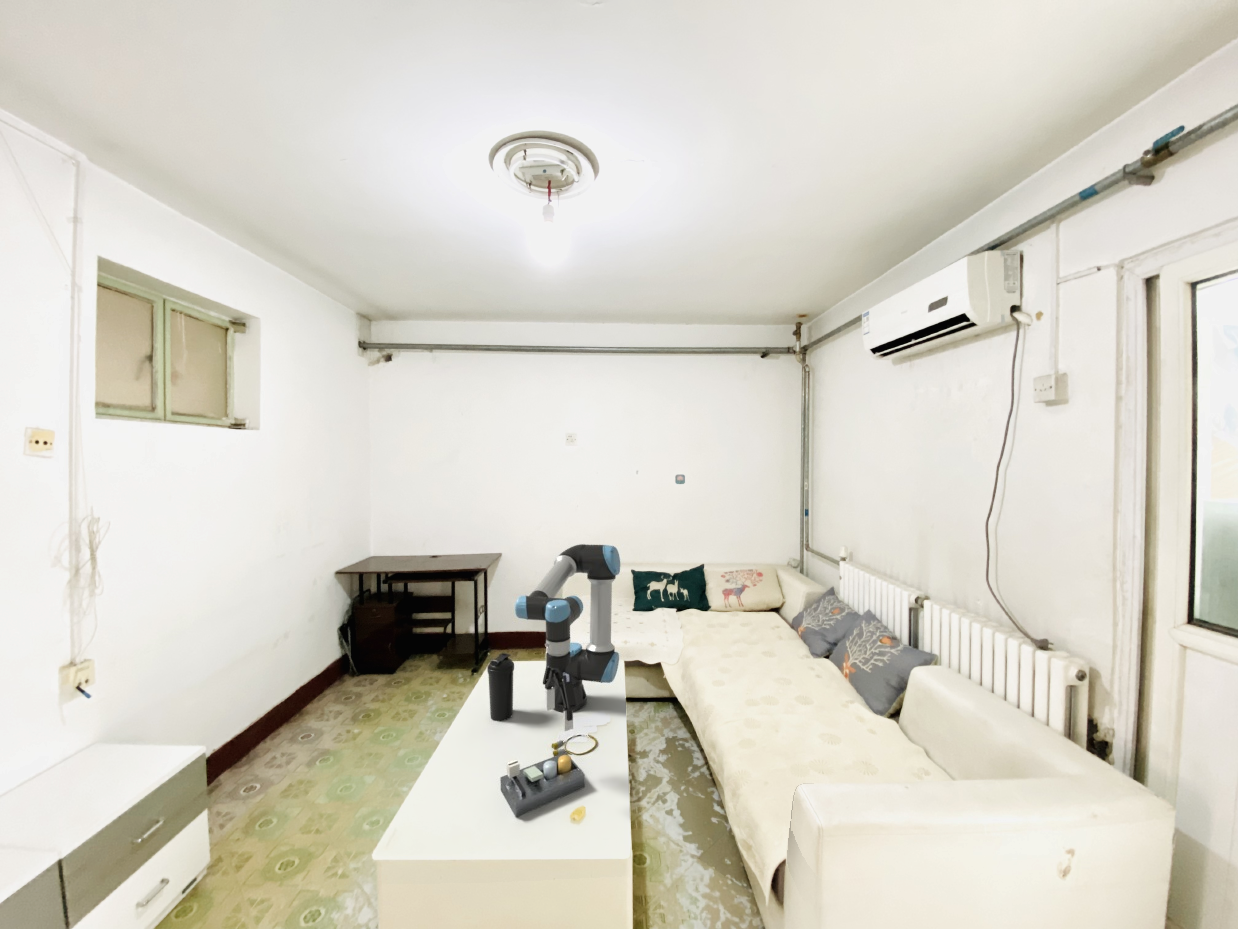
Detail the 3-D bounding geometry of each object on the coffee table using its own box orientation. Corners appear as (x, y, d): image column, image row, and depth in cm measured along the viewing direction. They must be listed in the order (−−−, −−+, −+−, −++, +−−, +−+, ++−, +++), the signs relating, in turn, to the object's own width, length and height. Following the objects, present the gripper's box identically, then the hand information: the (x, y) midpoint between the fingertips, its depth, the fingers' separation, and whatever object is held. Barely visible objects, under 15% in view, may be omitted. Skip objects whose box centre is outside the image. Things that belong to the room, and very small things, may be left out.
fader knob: (516, 769, 146) (516, 758, 146) (519, 774, 144) (519, 763, 144) (506, 773, 144) (506, 762, 144) (509, 778, 142) (509, 767, 142)
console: (565, 764, 157) (565, 748, 157) (584, 787, 146) (584, 770, 146) (500, 790, 145) (500, 773, 145) (515, 817, 134) (515, 799, 134)
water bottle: (520, 711, 189) (519, 654, 189) (503, 725, 180) (502, 664, 179) (499, 706, 193) (498, 650, 193) (482, 718, 184) (481, 660, 184)
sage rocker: (534, 769, 147) (534, 765, 148) (543, 777, 142) (543, 773, 142) (523, 773, 145) (523, 770, 146) (532, 782, 140) (531, 778, 140)
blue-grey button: (553, 772, 149) (553, 759, 149) (558, 779, 146) (558, 766, 146) (541, 777, 147) (541, 763, 147) (546, 784, 144) (546, 770, 144)
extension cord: (554, 736, 173) (554, 731, 173) (597, 736, 173) (597, 731, 173) (549, 758, 161) (549, 752, 161) (595, 758, 160) (595, 752, 160)
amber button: (567, 766, 152) (567, 753, 152) (573, 773, 149) (573, 760, 149) (556, 771, 150) (556, 757, 150) (561, 778, 147) (561, 764, 146)
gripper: (532, 641, 157) (533, 704, 158) (564, 669, 136) (565, 743, 136) (553, 636, 161) (554, 698, 162) (587, 663, 140) (588, 735, 140)
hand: (559, 719), depth 149 cm, fingers open, 13 cm apart
